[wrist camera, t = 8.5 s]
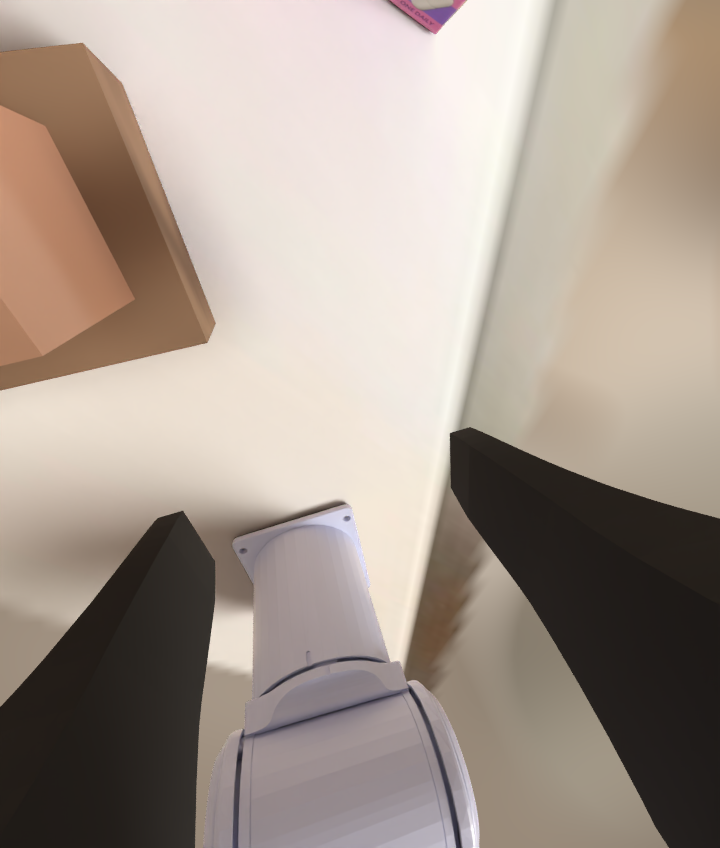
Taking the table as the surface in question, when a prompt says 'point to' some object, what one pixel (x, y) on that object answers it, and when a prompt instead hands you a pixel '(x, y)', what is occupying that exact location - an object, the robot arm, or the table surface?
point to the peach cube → (47, 248)
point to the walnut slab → (108, 211)
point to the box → (430, 11)
